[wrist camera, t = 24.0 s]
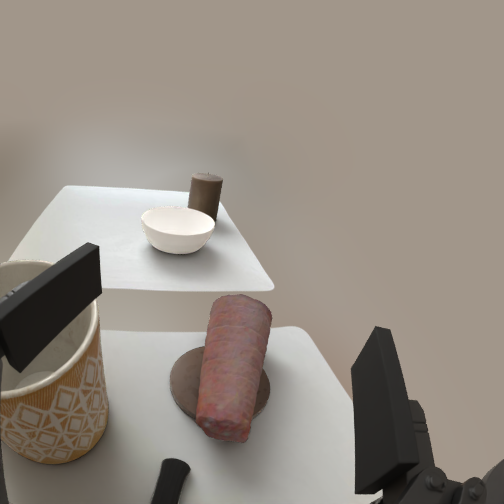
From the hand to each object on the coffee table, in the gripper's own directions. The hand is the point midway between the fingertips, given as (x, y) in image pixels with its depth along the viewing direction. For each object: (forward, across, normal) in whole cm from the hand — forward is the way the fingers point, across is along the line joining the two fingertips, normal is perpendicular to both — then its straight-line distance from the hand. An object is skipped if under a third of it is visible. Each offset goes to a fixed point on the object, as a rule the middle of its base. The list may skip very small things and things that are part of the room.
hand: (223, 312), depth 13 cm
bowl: (+52, -24, -26) cm, 63 cm away
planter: (+1, -20, -26) cm, 33 cm away
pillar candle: (+75, -25, -26) cm, 83 cm away
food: (+16, -1, -25) cm, 30 cm away
